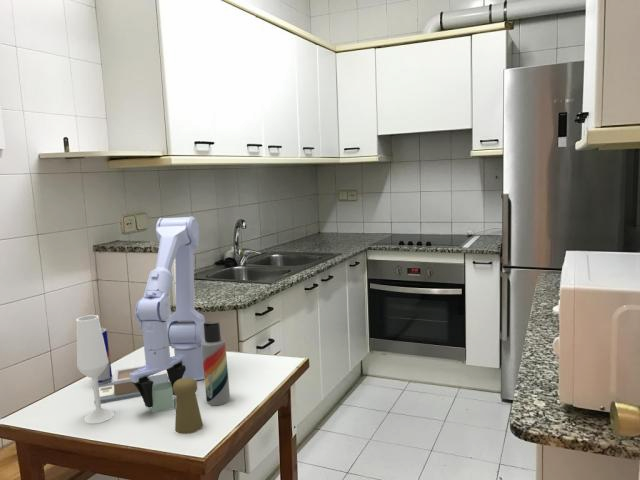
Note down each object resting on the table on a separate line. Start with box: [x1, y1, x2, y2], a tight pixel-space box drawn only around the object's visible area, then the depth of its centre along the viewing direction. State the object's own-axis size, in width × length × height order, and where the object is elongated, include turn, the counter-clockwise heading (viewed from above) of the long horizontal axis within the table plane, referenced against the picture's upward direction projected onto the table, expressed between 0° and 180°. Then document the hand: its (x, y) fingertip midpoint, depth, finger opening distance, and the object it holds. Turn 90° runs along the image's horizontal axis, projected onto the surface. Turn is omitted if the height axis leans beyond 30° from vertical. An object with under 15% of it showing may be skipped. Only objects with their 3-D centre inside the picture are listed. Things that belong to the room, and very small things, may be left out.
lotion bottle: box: [201, 321, 231, 406], centre depth 131 cm, size 6×6×20 cm
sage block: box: [151, 380, 175, 413], centre depth 131 cm, size 5×5×5 cm
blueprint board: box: [93, 365, 169, 404], centre depth 142 cm, size 18×11×5 cm, turn 108°
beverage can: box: [97, 327, 113, 385], centre depth 147 cm, size 5×5×15 cm
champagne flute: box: [75, 314, 115, 424], centre depth 126 cm, size 7×7×24 cm
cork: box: [173, 378, 204, 435], centre depth 119 cm, size 6×6×11 cm
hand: (162, 400), depth 131 cm, fingers closed on sage block, 7 cm apart
